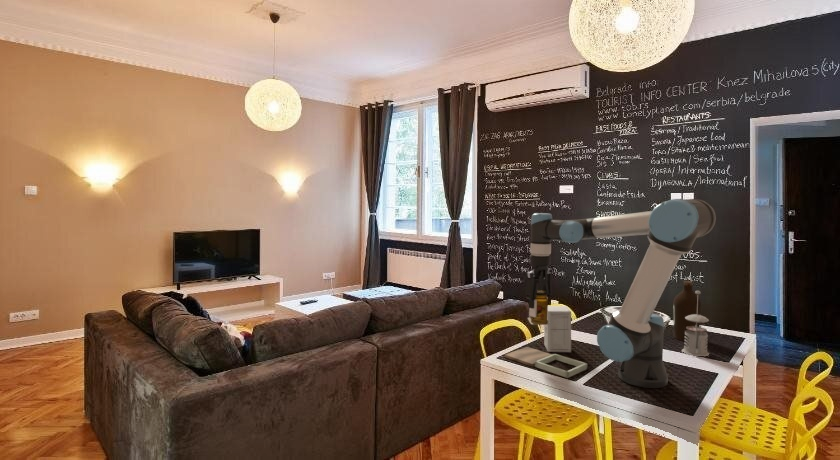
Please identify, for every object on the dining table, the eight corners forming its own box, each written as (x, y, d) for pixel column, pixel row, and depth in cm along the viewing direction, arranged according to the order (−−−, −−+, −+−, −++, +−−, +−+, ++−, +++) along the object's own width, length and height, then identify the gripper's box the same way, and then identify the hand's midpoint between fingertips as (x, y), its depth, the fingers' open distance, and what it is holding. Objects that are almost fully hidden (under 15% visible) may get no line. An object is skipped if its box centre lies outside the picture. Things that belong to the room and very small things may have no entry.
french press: (708, 350, 184) (710, 289, 182) (712, 360, 174) (715, 295, 172) (680, 347, 189) (682, 287, 187) (682, 356, 178) (685, 292, 176)
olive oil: (703, 338, 199) (705, 281, 197) (695, 344, 192) (697, 285, 190) (676, 333, 207) (678, 278, 205) (668, 338, 200) (670, 281, 198)
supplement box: (566, 345, 193) (567, 305, 191) (571, 352, 183) (572, 311, 182) (543, 344, 194) (543, 305, 192) (547, 352, 184) (547, 310, 183)
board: (554, 357, 178) (554, 355, 178) (532, 366, 169) (532, 364, 169) (527, 349, 188) (527, 346, 188) (504, 357, 179) (504, 354, 179)
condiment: (531, 324, 171) (532, 293, 170) (527, 318, 179) (528, 288, 178) (551, 325, 171) (552, 293, 169) (545, 318, 179) (547, 288, 178)
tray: (587, 368, 166) (587, 363, 166) (567, 378, 158) (567, 372, 158) (554, 358, 177) (555, 353, 177) (534, 366, 169) (534, 361, 169)
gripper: (547, 251, 181) (544, 308, 183) (516, 255, 169) (514, 317, 171) (563, 253, 175) (561, 312, 177) (532, 258, 163) (530, 321, 165)
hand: (538, 314), depth 174 cm, fingers closed on condiment, 6 cm apart
